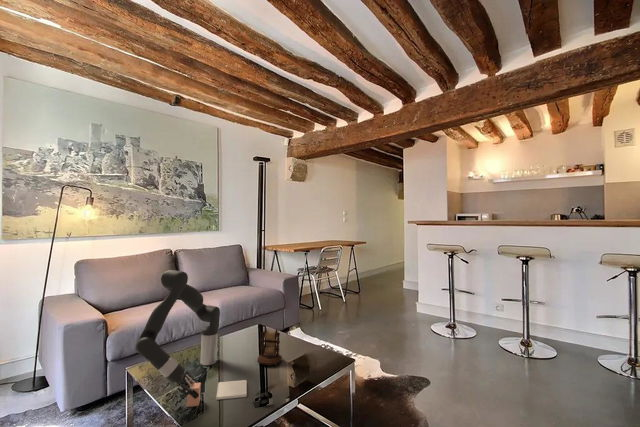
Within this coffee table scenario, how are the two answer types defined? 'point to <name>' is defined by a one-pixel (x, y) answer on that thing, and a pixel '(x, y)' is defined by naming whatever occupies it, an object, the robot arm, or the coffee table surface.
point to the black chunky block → (262, 400)
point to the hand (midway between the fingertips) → (198, 393)
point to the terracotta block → (190, 399)
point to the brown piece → (270, 348)
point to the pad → (231, 389)
